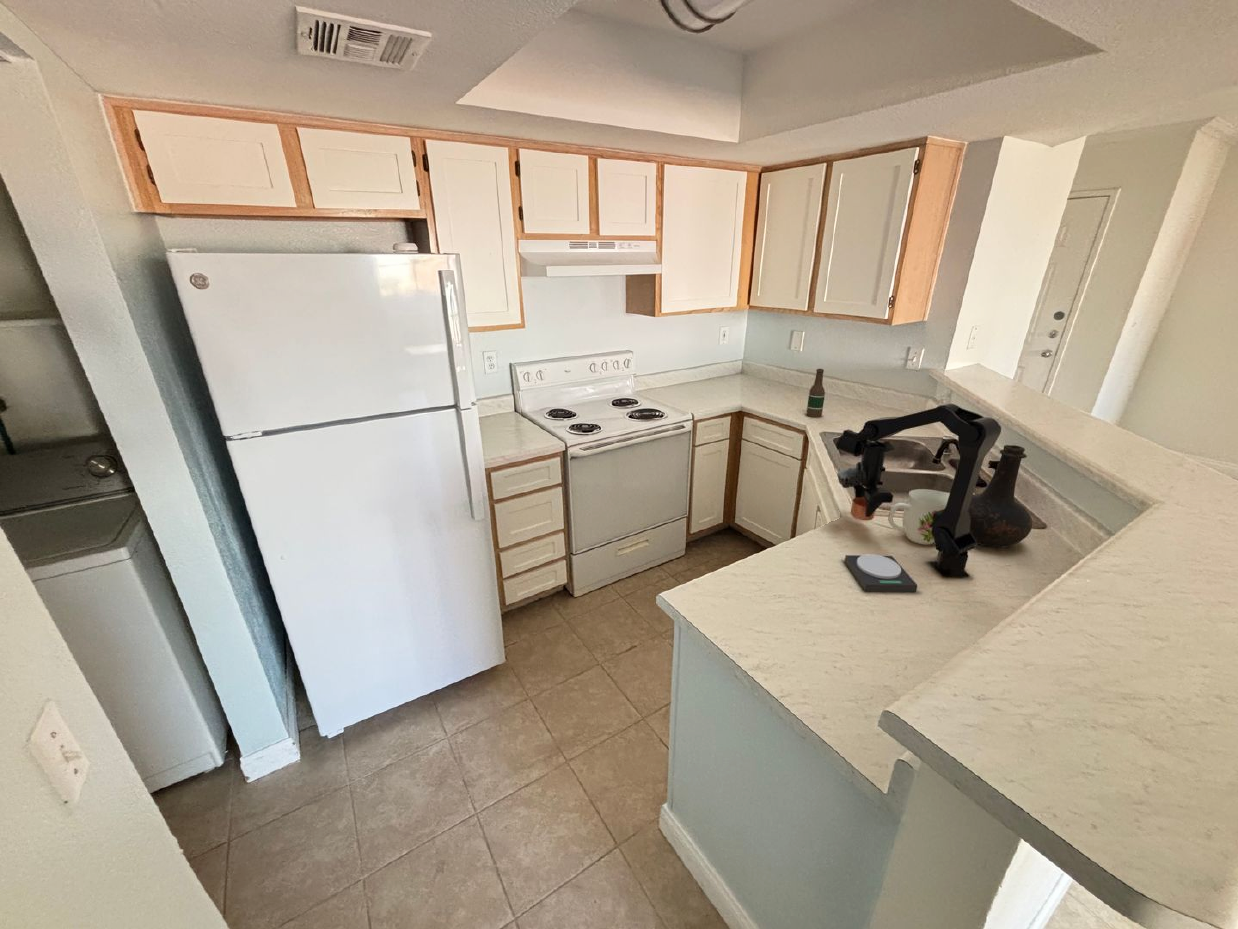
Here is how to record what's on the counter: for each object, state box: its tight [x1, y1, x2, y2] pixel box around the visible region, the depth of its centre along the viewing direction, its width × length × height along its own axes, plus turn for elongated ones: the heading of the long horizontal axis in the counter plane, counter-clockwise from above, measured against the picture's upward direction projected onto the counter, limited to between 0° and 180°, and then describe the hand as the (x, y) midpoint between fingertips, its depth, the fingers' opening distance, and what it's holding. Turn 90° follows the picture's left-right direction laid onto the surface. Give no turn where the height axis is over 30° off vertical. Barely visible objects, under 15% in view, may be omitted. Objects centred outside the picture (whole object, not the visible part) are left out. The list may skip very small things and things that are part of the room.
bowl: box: [850, 497, 877, 521], centre depth 147 cm, size 6×6×4 cm
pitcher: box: [887, 488, 950, 545], centre depth 140 cm, size 11×18×14 cm, turn 86°
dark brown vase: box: [968, 444, 1033, 548], centre depth 137 cm, size 18×18×28 cm
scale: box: [844, 553, 918, 593], centre depth 126 cm, size 13×12×3 cm
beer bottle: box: [806, 368, 826, 419], centre depth 254 cm, size 8×8×24 cm
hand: (862, 511), depth 147 cm, fingers closed on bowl, 6 cm apart
